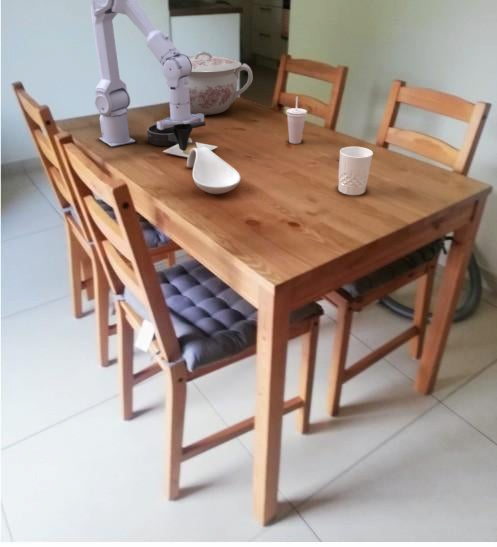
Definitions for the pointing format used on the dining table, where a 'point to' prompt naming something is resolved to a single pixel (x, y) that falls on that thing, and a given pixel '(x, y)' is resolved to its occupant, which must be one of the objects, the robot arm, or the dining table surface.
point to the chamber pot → (214, 83)
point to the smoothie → (296, 123)
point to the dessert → (187, 148)
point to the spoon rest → (212, 171)
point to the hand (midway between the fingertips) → (182, 149)
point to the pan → (161, 136)
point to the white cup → (354, 170)
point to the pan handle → (197, 124)
